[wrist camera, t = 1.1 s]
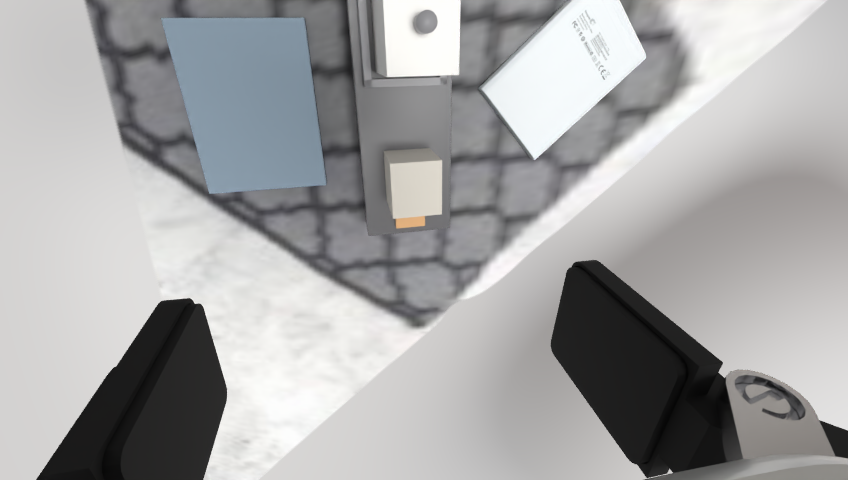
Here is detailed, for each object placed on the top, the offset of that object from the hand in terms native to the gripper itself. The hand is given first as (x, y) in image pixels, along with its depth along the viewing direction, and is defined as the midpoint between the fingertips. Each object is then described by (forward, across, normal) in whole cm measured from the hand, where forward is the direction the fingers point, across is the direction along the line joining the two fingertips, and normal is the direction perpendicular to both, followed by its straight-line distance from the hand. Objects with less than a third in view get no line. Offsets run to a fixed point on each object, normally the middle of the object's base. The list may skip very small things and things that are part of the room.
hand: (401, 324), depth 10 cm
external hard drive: (+25, -18, -5) cm, 31 cm away
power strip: (+24, -4, -6) cm, 25 cm away
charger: (+21, -4, -7) cm, 23 cm away
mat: (+24, +7, -2) cm, 26 cm away
